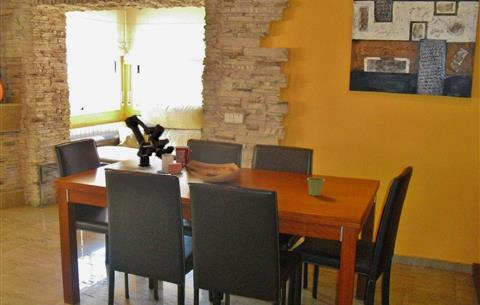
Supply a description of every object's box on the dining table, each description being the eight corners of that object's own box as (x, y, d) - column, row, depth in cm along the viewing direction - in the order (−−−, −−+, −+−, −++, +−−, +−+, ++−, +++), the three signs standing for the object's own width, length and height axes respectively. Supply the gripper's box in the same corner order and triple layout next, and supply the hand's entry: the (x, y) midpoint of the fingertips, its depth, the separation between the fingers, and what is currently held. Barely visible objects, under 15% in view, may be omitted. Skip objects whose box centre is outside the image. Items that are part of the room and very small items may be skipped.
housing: (157, 172, 309) (157, 161, 308) (170, 170, 315) (170, 159, 314) (169, 175, 299) (169, 164, 298) (182, 174, 305) (182, 163, 304)
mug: (172, 166, 329) (172, 146, 327) (179, 164, 337) (179, 145, 335) (188, 168, 324) (188, 148, 322) (195, 166, 332) (195, 147, 330)
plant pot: (311, 192, 270) (312, 176, 268) (327, 195, 264) (328, 179, 263) (302, 194, 263) (303, 178, 261) (318, 197, 257) (319, 181, 255)
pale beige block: (161, 170, 308) (161, 154, 307) (169, 169, 312) (170, 153, 311) (165, 171, 305) (165, 155, 304) (173, 170, 309) (173, 154, 308)
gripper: (148, 134, 305) (157, 154, 299) (173, 133, 318) (182, 152, 311) (141, 145, 312) (150, 165, 306) (166, 144, 325) (175, 163, 318)
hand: (165, 161), depth 310 cm, fingers closed
